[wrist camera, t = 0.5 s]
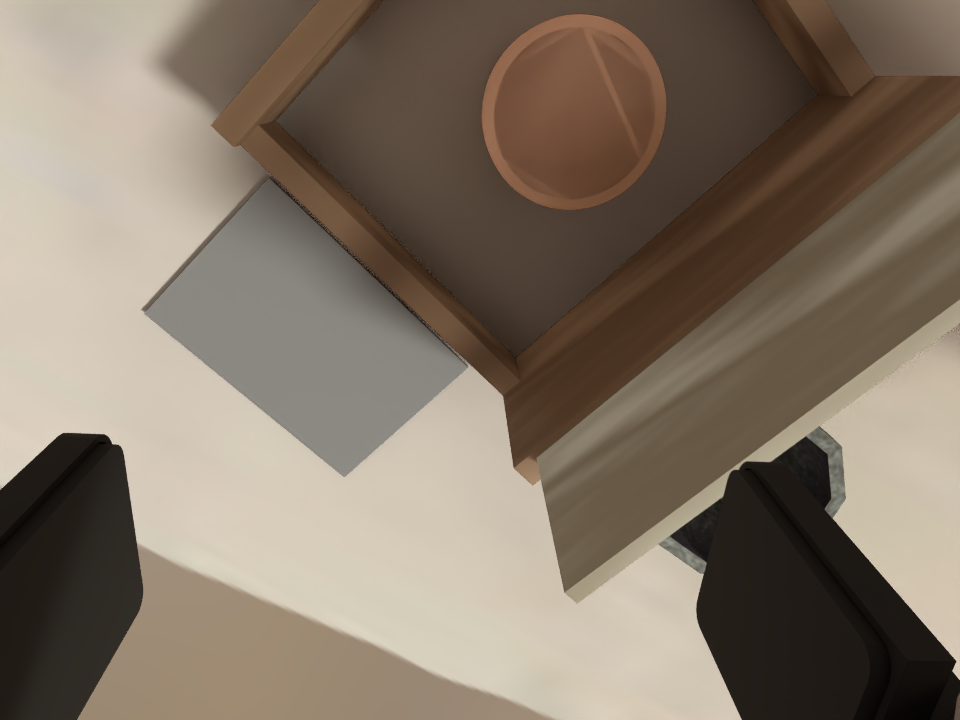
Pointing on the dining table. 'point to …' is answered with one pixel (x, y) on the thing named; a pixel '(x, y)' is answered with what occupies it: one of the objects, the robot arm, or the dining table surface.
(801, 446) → the mortar and pestle
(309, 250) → the slate mat
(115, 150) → the dining table surface
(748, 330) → the box
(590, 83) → the terracotta pot
